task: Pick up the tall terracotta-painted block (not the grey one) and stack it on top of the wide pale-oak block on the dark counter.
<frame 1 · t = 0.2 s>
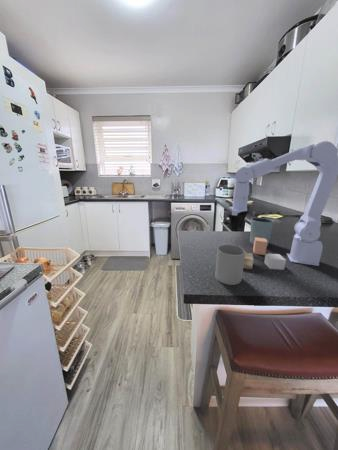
hand: (236, 228, 83), 10 cm above the counter, fingers open, 7 cm apart
teal round container: (258, 243, 95), on the counter
oak base block: (242, 264, 72), on the counter
terracotta block: (258, 252, 84), on the counter
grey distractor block: (273, 266, 71), on the counter
cup: (227, 278, 63), on the counter
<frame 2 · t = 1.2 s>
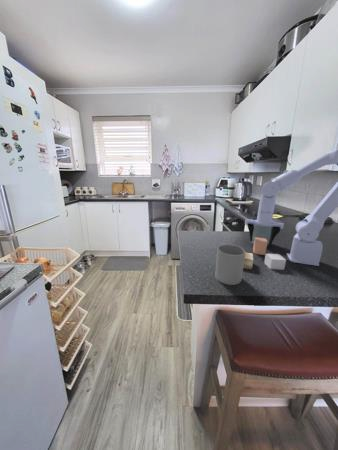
hand: (260, 242, 82), 5 cm above the counter, fingers open, 7 cm apart
nothing on the counter moved.
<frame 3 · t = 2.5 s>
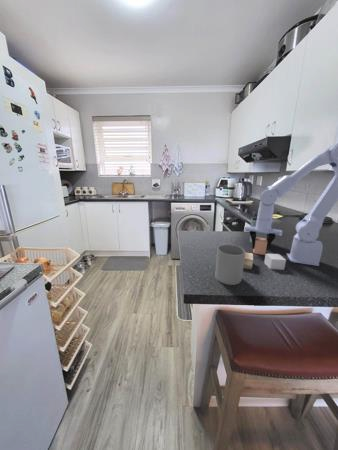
hand: (259, 248, 83), 2 cm above the counter, fingers closed on terracotta block, 4 cm apart
terracotta block: (258, 252, 84), on the counter, touching gripper
everything else where it was.
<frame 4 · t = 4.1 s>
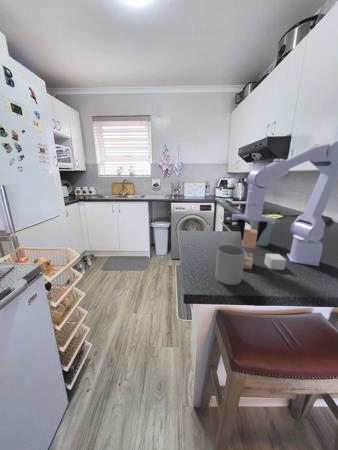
hand: (249, 239, 72), 9 cm above the counter, fingers closed on terracotta block, 4 cm apart
terracotta block: (248, 245, 73), point 7 cm above the counter, touching gripper
everything else where it was.
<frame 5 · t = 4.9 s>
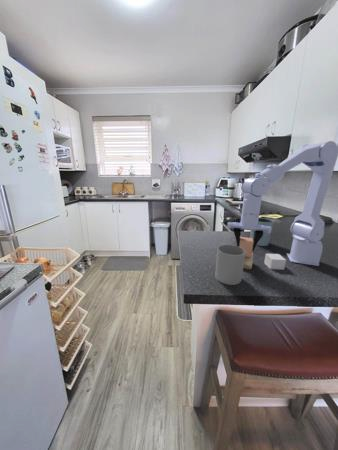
hand: (245, 248, 70), 6 cm above the counter, fingers closed on terracotta block, 4 cm apart
terracotta block: (244, 254, 72), point 4 cm above the counter, touching gripper
everything else where it was.
when the fingers open (6 cm above the counter, at t = 5.6 s): terracotta block stays where it is, resting on oak base block.
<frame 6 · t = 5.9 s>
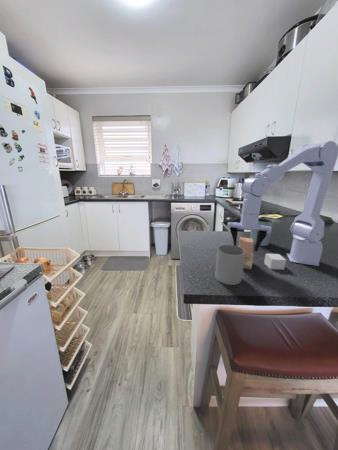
hand: (245, 248, 70), 6 cm above the counter, fingers open, 7 cm apart
oak base block: (242, 264, 72), on the counter, touching terracotta block
terracotta block: (244, 254, 72), point 4 cm above the counter, touching oak base block
everything else where it was.
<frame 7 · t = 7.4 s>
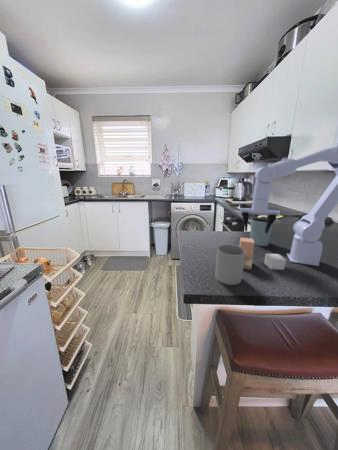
hand: (255, 231, 78), 10 cm above the counter, fingers open, 7 cm apart
oak base block: (242, 264, 72), on the counter
terracotta block: (245, 254, 71), point 4 cm above the counter
everything else where it was.
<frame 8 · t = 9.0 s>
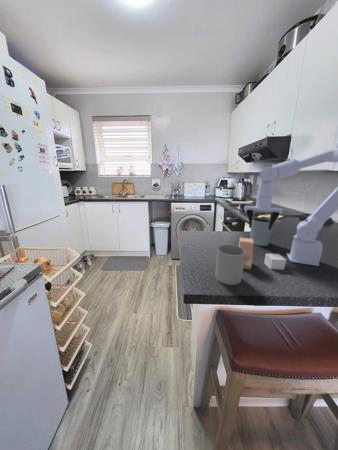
hand: (259, 228, 83), 10 cm above the counter, fingers open, 7 cm apart
oak base block: (242, 264, 72), on the counter, touching terracotta block
terracotta block: (244, 255, 71), point 4 cm above the counter, touching oak base block
everything else where it was.
at the end: terracotta block 0.4 cm off-centre on the oak base block, point 4.0 cm above the oak base block's base; terracotta block tilted 0°; the gripper is holding nothing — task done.
